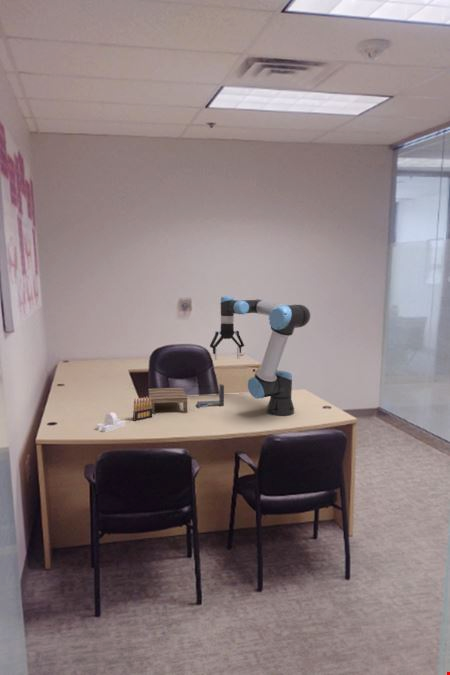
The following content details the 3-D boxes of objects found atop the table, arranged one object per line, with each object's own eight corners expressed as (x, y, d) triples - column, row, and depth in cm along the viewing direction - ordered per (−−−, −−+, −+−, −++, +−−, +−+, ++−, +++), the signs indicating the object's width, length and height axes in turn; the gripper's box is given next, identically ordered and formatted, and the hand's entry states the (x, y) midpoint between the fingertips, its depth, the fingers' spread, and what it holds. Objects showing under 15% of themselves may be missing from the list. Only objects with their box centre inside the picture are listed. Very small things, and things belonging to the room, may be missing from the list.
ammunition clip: (134, 421, 262) (134, 398, 260) (133, 420, 263) (132, 398, 262) (152, 417, 268) (152, 395, 267) (150, 416, 270) (150, 395, 268)
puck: (208, 407, 289) (208, 405, 289) (200, 407, 288) (200, 406, 288) (207, 405, 294) (207, 403, 294) (198, 405, 293) (198, 403, 293)
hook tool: (224, 406, 290) (224, 386, 288) (198, 407, 287) (198, 387, 285) (222, 403, 297) (222, 383, 295) (196, 404, 294) (196, 384, 292)
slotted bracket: (117, 423, 258) (117, 408, 257) (126, 426, 254) (125, 411, 253) (96, 429, 248) (95, 414, 247) (105, 432, 244) (104, 417, 243)
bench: (187, 412, 277) (187, 397, 276) (150, 414, 274) (150, 399, 272) (182, 401, 301) (182, 387, 299) (148, 402, 297) (148, 388, 296)
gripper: (246, 321, 298) (245, 357, 301) (204, 322, 292) (204, 358, 295) (249, 323, 291) (249, 359, 293) (207, 324, 285) (207, 360, 287)
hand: (227, 359), depth 294 cm, fingers open, 13 cm apart
